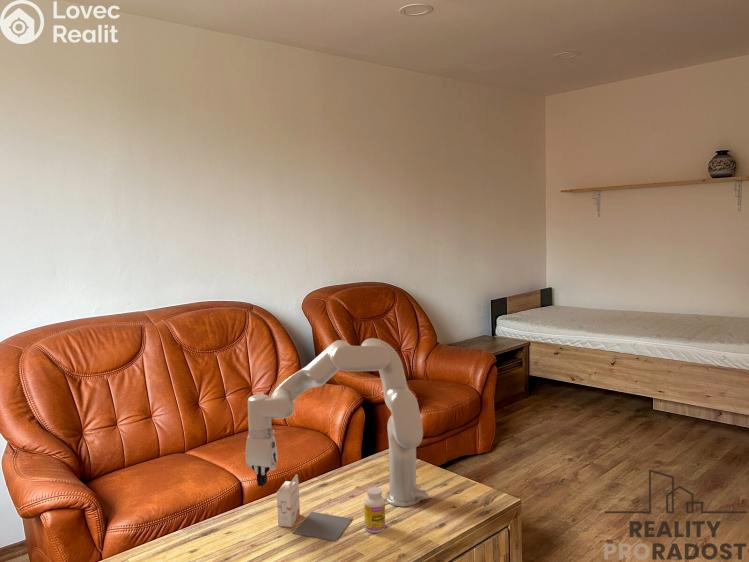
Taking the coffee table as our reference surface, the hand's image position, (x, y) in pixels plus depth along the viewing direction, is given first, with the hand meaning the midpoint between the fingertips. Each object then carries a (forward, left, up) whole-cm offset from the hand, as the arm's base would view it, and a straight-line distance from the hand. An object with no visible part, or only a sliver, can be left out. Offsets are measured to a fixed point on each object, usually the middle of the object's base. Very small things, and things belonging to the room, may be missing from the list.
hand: (262, 484), depth 193 cm
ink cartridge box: (-10, 0, -11) cm, 15 cm away
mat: (-22, 0, -11) cm, 25 cm away
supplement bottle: (-39, -4, -11) cm, 41 cm away
